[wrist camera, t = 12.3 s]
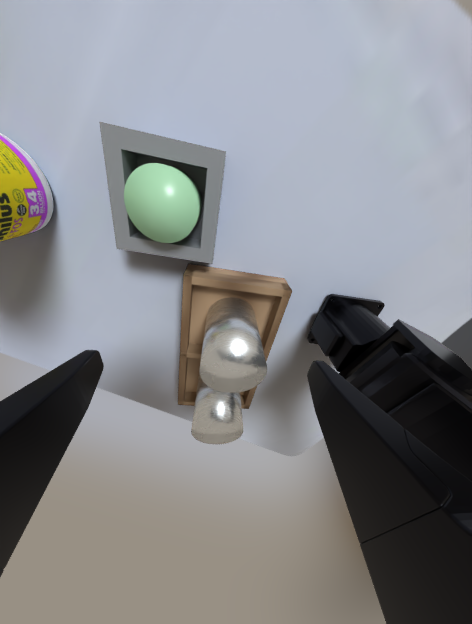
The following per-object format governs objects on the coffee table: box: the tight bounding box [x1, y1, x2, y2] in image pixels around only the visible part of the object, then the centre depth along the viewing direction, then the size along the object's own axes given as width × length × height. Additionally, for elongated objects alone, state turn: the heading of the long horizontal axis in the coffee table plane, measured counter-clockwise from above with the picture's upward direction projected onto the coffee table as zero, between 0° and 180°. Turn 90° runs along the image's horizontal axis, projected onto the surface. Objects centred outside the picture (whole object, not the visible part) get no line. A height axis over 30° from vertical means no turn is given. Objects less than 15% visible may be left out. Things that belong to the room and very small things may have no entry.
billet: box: [199, 297, 267, 393], centre depth 18 cm, size 5×5×7 cm
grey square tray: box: [100, 122, 226, 264], centre depth 15 cm, size 7×7×3 cm
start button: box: [124, 163, 202, 243], centre depth 14 cm, size 4×4×3 cm
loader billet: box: [191, 372, 243, 444], centre depth 23 cm, size 5×5×7 cm
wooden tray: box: [178, 264, 292, 409], centre depth 23 cm, size 9×18×3 cm, turn 170°
